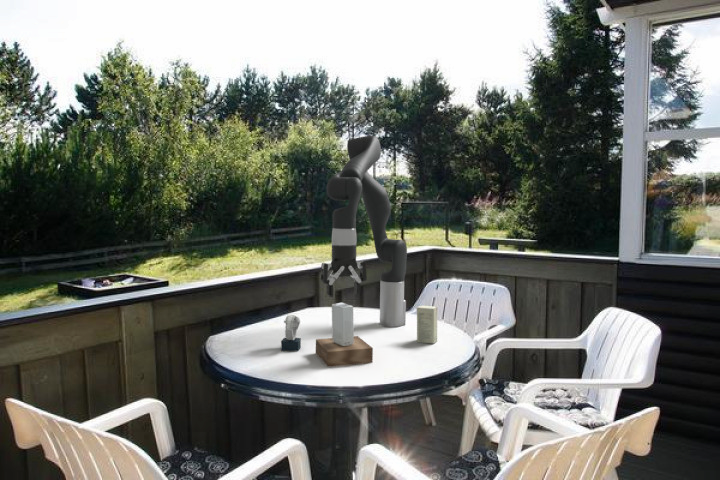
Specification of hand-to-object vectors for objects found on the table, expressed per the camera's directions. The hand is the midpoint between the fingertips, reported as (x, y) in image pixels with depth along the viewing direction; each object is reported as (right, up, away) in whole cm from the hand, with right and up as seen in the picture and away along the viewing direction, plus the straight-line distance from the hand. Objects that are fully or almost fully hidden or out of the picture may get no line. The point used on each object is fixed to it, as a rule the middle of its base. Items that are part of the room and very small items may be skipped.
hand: (343, 295), depth 163 cm
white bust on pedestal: (-17, -19, +10) cm, 27 cm away
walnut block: (0, -20, +2) cm, 20 cm away
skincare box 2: (+28, -18, +21) cm, 40 cm away
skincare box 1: (0, -15, +1) cm, 15 cm away
